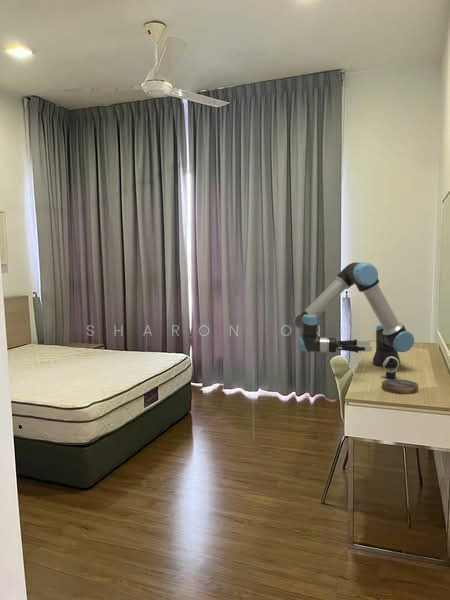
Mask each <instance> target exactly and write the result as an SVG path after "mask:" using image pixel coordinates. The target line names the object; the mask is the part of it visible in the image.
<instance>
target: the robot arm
mask: <svg viewBox="0 0 450 600" xmlns="http://www.w3.org/2000/svg"><path fill="white" fill-rule="evenodd" d="M379 284H380V280H379V271H378V269H377V267H376V266H375V265H373V264H371V263H369V262H351V263H349V264H347V265H346V266H345V267H344V268H343V269H342V270H341V271H340V272H339V273H338V274H337V275H336V276H335V280H333V281H332V283H330V285H328V286H327V287H326V289H324V291H322V292H321V293H320V294H319V295H318V297H317V298H316V299H315V300H313V302H312V303H310V305H309V306H307V308H306V309H304V311H303V312H302V313H300V314H297V315H295V316H294V318H293V324H294V326H295V327H296V328H297V329H299V330H302V334H301V335H302V336H300V337H298V345H297V346H298V350H299V351H300V352H307V353H308V352H313V353H320V352H321V353H322V354H324V353H327V352H329V353H337V350H338V351H345V352H355V353H359V352H370V353H371V352H372V351H373V349H372V348H373V345H371V342H370V341H369V340H358V339H353V340H337V338H336V337H329V338H328V337H318V317H319V316H320V315H321V314H322V313H323V312H324V311H325V310H326V309H327V308H329V306H330V305H331V304H332V303H333V302H334V301H335V300H336V299H337V298H338V297H339V296H340V295H341V294H343V292H344V291H345V290H349V289H350V288H351V287H352V286H354V285H355V286H356V288H357V290H358V292H359V293H363V294H364V296H365V298H366V300H367V302H368V304H369V305H370V307H371V309H372V311H373V312H374V314H375V317H376V318H377V319H378V321H379V323H380V324H378V325H376V328H375V345H376V346H375V352H374V356H373V358H372V365H374V366H377V367H382V368H383V363H384V361H385V360H386V358H387V357H390V356H391V357H395V358H397V359H398V361H399V367H400V366H401V363H402V362H401V358H400V356H399V355H400V354H399V353H407V352H408V351H410V350H411V349H412V348H413V346H414V343H415V337H414V334H412V333H411V332H410V331H408V330H407V329H406V327H405V325H404V323H402V322H399V320H398V318H397V317H396V315H395V313H394V310H393V309H392V308H391V306H390V304H389V302H388V301H387V299H386V297H385V295H384V293H383V291H382V289H381V288H380V286H379ZM397 365H398V362H397V360H396V359H394V358H390V359H389V361H388V363H387V364H386V365H385V368H396V367H397Z"/></svg>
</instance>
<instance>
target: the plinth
mask: <svg viewBox="0 0 450 600" xmlns="http://www.w3.org/2000/svg"><path fill="white" fill-rule="evenodd" d="M381 389H382V390H383V391H384V392H387V393H391V394H397V395H412V394H416V393H418V392H419V384H418V382H416V381H415V382H414V381H413V380H412V381H411V380H407V379H400V378H399V379H398V378H397V379H396V378H395V379H384V380H383V381H382V382H381Z"/></svg>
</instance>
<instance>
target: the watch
mask: <svg viewBox="0 0 450 600" xmlns="http://www.w3.org/2000/svg"><path fill="white" fill-rule="evenodd" d="M390 358H394V359H396V360H397V362H398V365H397V367H395V368H394V370H388V369H387V367H385V365H386V364H387V363H388V361H389V359H390ZM399 367H400V366H399V361H398V359H397V358H395V357H391V356H390V357H387V358H386V360H385V361H384V363H383V367H382V368H383V369H384V370H385V380H390V379H396V377H397V375H396V374H397V370H398V368H399Z"/></svg>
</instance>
